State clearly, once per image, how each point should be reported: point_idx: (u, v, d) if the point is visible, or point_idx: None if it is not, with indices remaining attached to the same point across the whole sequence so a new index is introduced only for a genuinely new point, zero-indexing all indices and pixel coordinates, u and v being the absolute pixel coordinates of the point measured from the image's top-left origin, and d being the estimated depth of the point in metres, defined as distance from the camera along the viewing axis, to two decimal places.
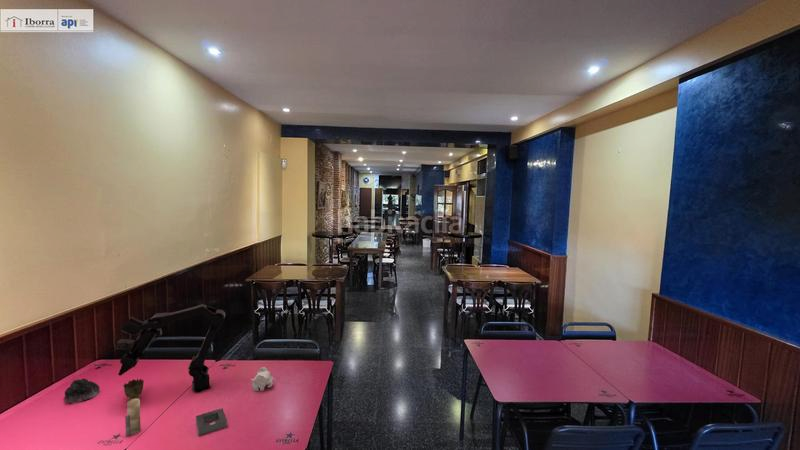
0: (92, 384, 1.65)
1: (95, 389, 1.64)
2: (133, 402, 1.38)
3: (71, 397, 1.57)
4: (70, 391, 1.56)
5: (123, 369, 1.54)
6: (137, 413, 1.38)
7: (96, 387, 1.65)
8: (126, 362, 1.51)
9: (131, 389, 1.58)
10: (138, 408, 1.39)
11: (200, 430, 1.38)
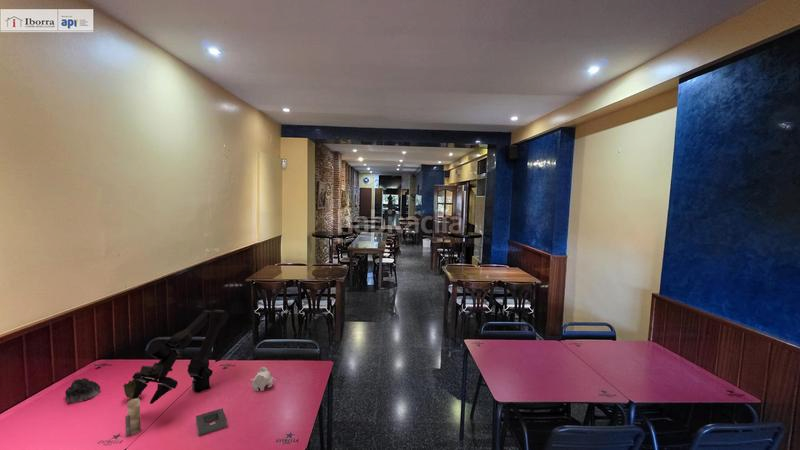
0: (93, 384, 1.65)
1: (96, 389, 1.65)
2: (133, 402, 1.38)
3: (72, 397, 1.57)
4: (71, 391, 1.57)
5: (158, 395, 1.43)
6: (137, 413, 1.38)
7: (97, 387, 1.65)
8: (171, 384, 1.45)
9: (131, 389, 1.58)
10: (138, 408, 1.39)
11: (200, 430, 1.38)
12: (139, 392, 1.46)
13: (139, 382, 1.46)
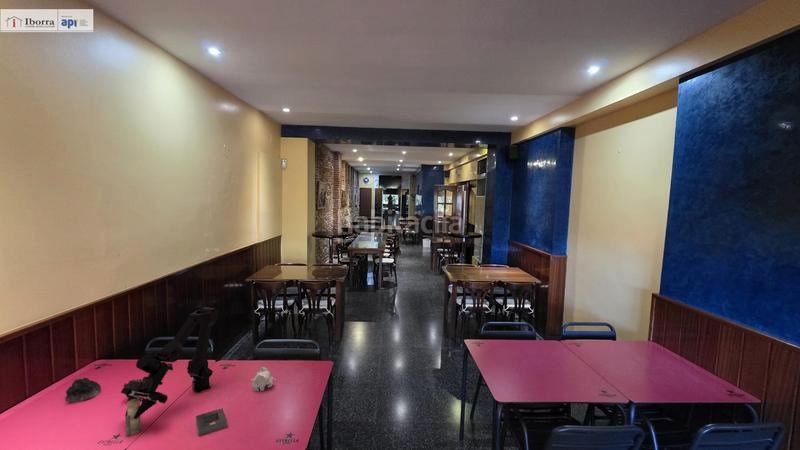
0: (93, 383, 1.65)
1: (97, 388, 1.65)
2: (133, 402, 1.38)
3: (73, 396, 1.58)
4: (72, 390, 1.57)
5: (142, 410, 1.39)
6: None
7: (97, 386, 1.66)
8: (161, 399, 1.40)
9: None
10: (138, 408, 1.39)
11: (200, 430, 1.38)
12: None
13: (132, 398, 1.41)
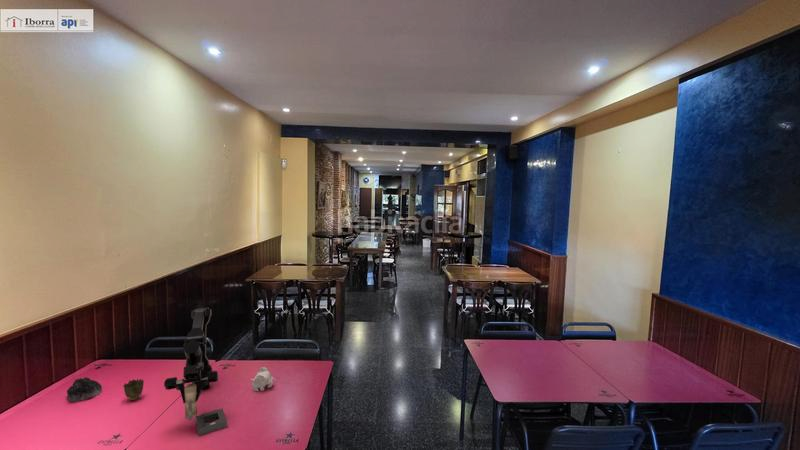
0: (94, 383, 1.66)
1: (97, 388, 1.65)
2: (192, 386, 1.40)
3: (74, 396, 1.58)
4: (73, 390, 1.57)
5: (200, 392, 1.42)
6: None
7: (98, 386, 1.66)
8: (217, 376, 1.47)
9: (131, 389, 1.58)
10: None
11: (200, 430, 1.38)
12: None
13: (183, 385, 1.41)
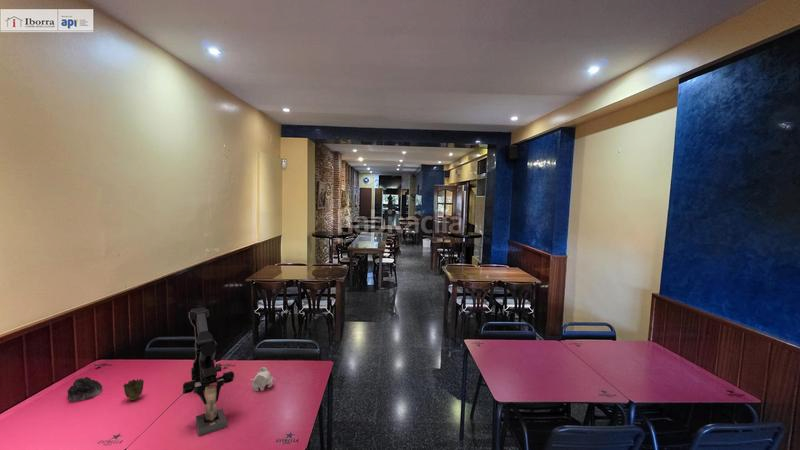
0: (95, 382, 1.66)
1: (98, 387, 1.66)
2: (213, 387, 1.43)
3: (75, 395, 1.58)
4: (74, 389, 1.58)
5: (218, 392, 1.46)
6: None
7: (99, 385, 1.66)
8: None
9: (131, 389, 1.58)
10: None
11: (200, 430, 1.38)
12: None
13: (202, 387, 1.43)
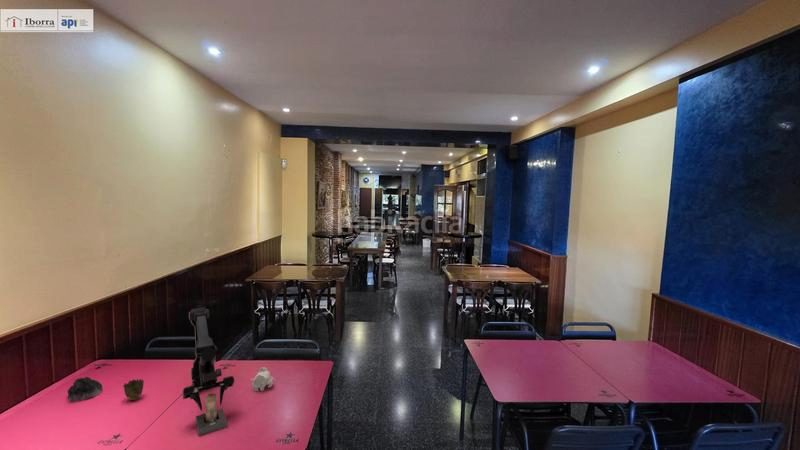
0: (95, 382, 1.66)
1: (98, 387, 1.66)
2: (213, 395, 1.44)
3: (75, 395, 1.58)
4: (74, 389, 1.58)
5: None
6: None
7: (99, 385, 1.67)
8: (233, 381, 1.52)
9: (131, 389, 1.58)
10: None
11: (200, 430, 1.38)
12: None
13: None
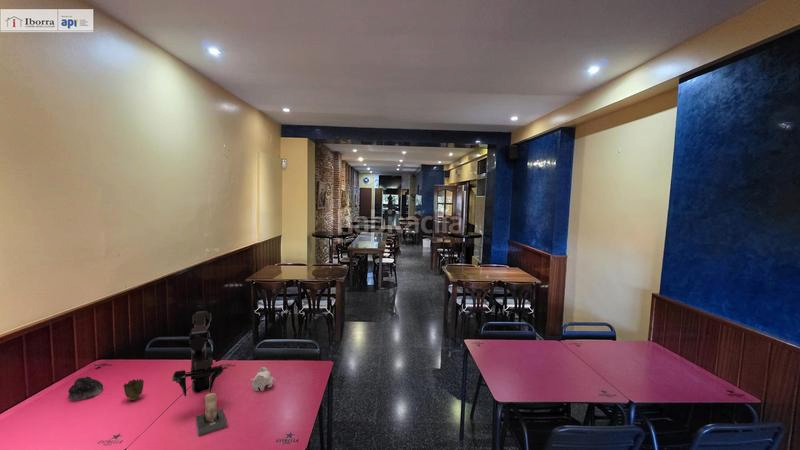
0: (96, 382, 1.66)
1: (99, 387, 1.66)
2: (213, 395, 1.44)
3: (75, 395, 1.59)
4: (75, 389, 1.58)
5: None
6: None
7: (100, 385, 1.67)
8: None
9: (131, 389, 1.58)
10: None
11: (200, 430, 1.38)
12: None
13: None
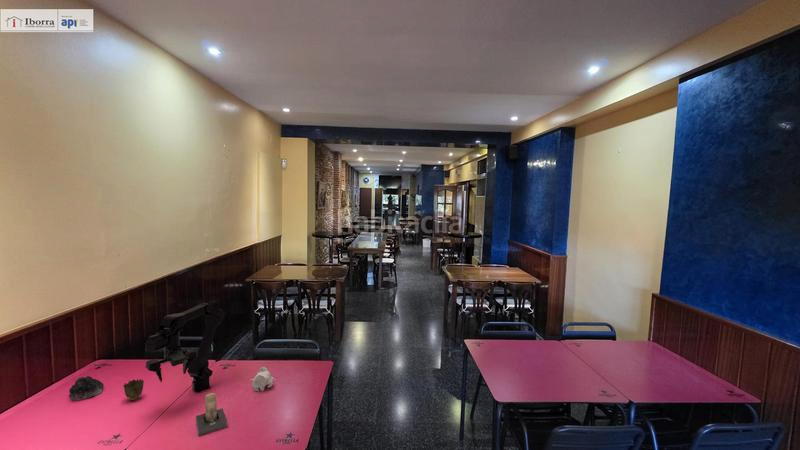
0: (97, 382, 1.67)
1: (100, 386, 1.66)
2: (213, 395, 1.44)
3: (76, 394, 1.59)
4: (76, 388, 1.58)
5: None
6: None
7: (101, 384, 1.67)
8: None
9: (131, 389, 1.58)
10: None
11: (200, 430, 1.38)
12: None
13: None
